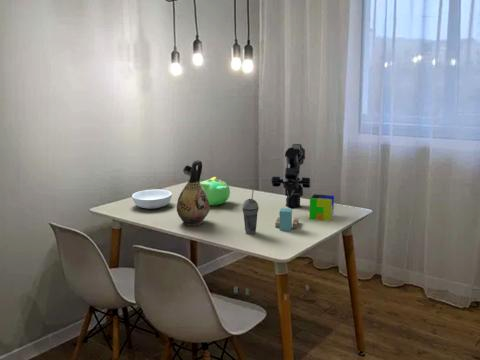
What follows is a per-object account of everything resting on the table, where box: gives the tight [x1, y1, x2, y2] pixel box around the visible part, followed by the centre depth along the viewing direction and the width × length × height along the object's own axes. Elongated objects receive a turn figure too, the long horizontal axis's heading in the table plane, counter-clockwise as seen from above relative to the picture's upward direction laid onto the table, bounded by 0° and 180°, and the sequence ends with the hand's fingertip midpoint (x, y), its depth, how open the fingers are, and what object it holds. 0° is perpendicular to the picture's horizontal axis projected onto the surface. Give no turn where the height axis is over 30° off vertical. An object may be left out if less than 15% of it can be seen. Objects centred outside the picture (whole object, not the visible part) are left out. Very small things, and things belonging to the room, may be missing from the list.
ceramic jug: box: [176, 159, 210, 227], centre depth 226 cm, size 17×15×30 cm
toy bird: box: [200, 176, 231, 206], centre depth 258 cm, size 18×17×15 cm
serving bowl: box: [131, 189, 173, 210], centre depth 257 cm, size 21×21×7 cm
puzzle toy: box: [309, 193, 335, 221], centre depth 235 cm, size 10×10×10 cm
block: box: [279, 207, 293, 232], centre depth 218 cm, size 5×5×9 cm
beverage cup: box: [241, 188, 260, 236], centre depth 212 cm, size 7×7×20 cm
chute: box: [275, 216, 299, 229], centre depth 224 cm, size 9×10×2 cm
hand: (289, 197), depth 232 cm, fingers closed
